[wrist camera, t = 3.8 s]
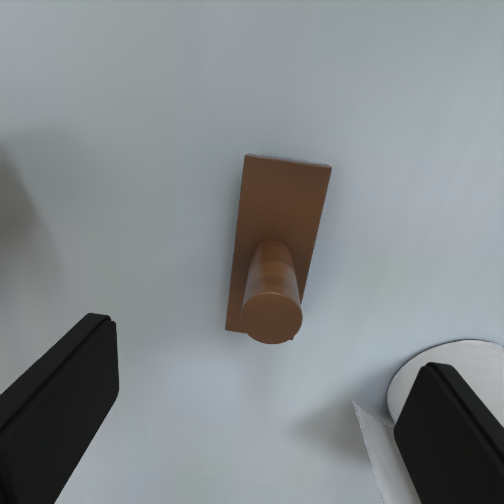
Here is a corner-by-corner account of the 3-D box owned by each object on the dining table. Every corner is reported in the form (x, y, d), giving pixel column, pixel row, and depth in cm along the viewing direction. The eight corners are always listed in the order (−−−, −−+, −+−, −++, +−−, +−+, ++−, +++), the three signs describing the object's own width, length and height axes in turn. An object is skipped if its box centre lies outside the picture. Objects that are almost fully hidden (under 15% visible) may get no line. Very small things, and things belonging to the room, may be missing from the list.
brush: (249, 151, 17) (227, 164, 9) (322, 162, 17) (369, 184, 9) (231, 305, 22) (204, 412, 13) (290, 314, 21) (301, 426, 13)
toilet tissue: (551, 402, 23) (743, 584, 14) (413, 460, 26) (490, 636, 17) (489, 313, 20) (671, 462, 11) (345, 390, 24) (392, 552, 15)
